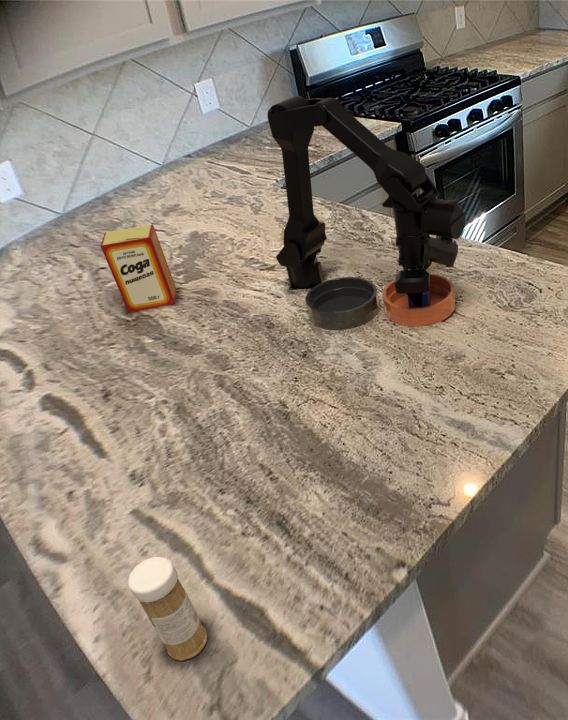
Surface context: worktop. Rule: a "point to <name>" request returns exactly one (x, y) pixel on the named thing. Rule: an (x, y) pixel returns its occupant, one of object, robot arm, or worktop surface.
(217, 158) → the worktop surface
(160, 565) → the sprinkles bottle
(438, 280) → the terracotta bowl
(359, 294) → the charcoal bowl
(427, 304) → the blue block
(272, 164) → the worktop surface
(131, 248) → the baking soda box
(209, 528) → the worktop surface
